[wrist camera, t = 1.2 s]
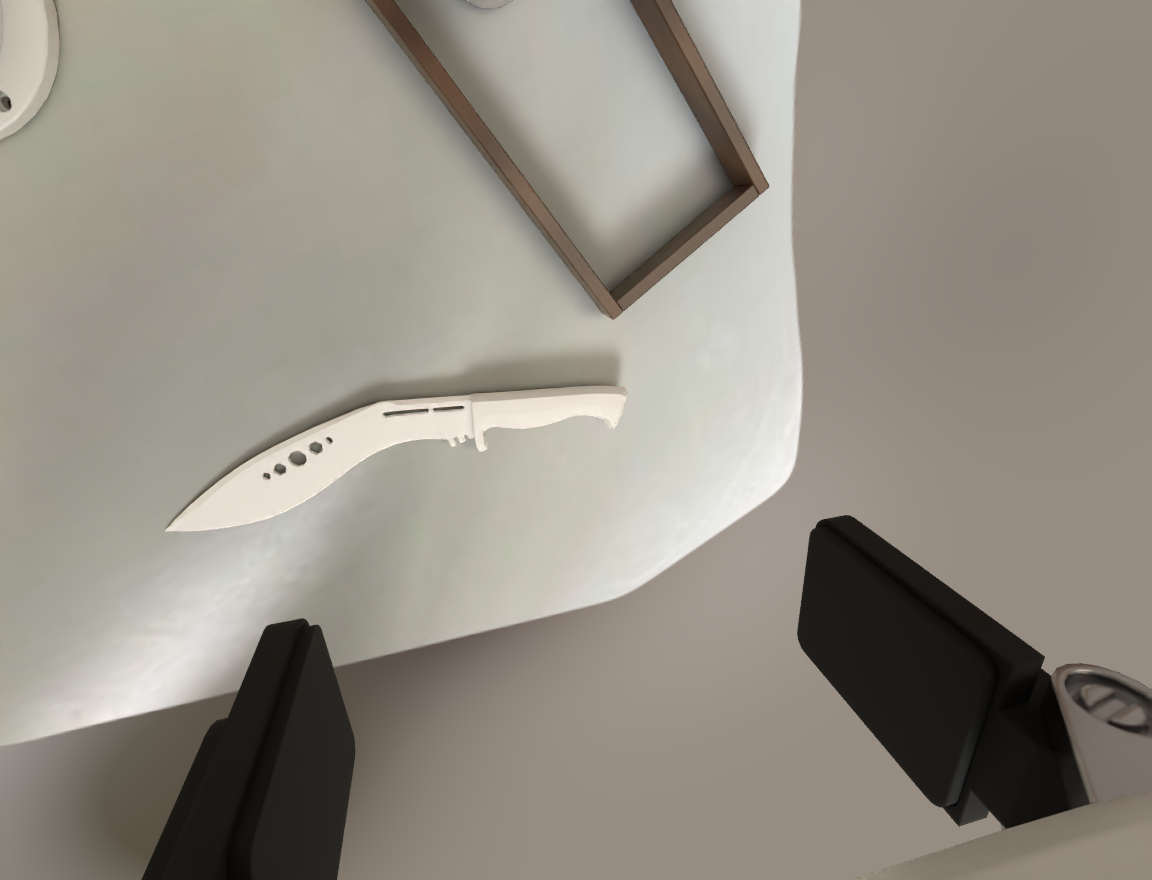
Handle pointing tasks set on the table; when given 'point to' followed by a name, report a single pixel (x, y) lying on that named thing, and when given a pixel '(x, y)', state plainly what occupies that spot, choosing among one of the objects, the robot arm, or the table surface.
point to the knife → (382, 446)
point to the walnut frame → (705, 106)
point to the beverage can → (489, 3)
